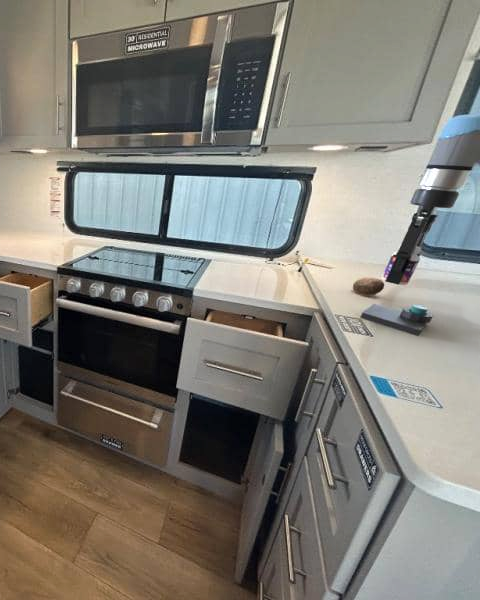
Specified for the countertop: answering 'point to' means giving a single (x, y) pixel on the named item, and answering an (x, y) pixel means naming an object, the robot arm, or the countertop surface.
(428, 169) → the robot arm
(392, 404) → the countertop surface
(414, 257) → the pill bottle
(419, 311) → the tare button
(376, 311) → the scale
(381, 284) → the brown oval lump
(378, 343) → the countertop surface
